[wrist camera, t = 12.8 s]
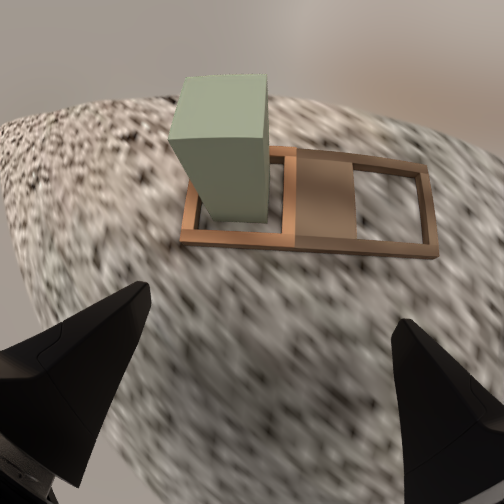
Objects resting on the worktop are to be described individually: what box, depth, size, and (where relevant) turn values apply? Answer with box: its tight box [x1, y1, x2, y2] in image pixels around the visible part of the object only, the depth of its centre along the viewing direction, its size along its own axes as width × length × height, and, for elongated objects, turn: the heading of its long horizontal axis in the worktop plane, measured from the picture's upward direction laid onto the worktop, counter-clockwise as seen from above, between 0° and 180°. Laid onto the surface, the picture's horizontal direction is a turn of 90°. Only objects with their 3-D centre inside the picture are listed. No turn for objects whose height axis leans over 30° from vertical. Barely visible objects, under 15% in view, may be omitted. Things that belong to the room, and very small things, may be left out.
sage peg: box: [168, 74, 270, 223], centre depth 19 cm, size 4×4×12 cm
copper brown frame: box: [180, 146, 439, 259], centre depth 23 cm, size 9×22×1 cm, turn 86°
